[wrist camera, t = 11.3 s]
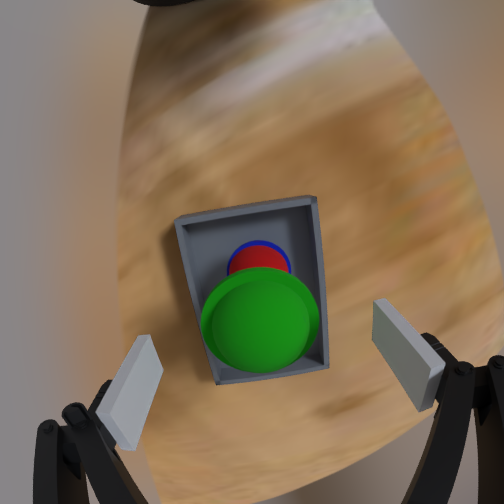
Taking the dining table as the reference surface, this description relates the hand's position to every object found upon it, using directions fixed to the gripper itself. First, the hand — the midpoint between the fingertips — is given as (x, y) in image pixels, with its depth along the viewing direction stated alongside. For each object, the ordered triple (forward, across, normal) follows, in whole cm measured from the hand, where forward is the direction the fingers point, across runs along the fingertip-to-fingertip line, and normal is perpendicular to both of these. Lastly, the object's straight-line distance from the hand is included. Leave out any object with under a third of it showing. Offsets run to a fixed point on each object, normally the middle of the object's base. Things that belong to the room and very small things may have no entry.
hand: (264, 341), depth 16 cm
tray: (+15, 0, -4) cm, 16 cm away
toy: (+15, 0, -1) cm, 15 cm away
